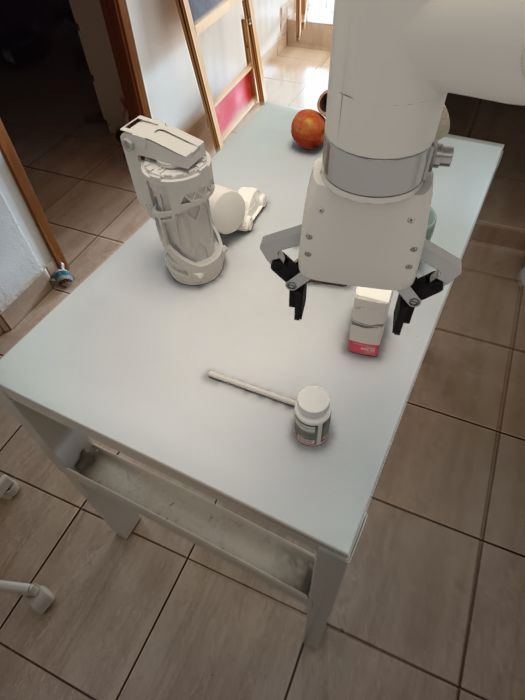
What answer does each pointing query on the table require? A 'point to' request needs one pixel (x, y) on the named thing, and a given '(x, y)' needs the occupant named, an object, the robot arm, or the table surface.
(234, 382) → the pencil
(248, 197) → the crumpled white lump
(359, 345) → the ink box
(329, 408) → the pill bottle
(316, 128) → the apple
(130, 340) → the table surface
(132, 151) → the lantern
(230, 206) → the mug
